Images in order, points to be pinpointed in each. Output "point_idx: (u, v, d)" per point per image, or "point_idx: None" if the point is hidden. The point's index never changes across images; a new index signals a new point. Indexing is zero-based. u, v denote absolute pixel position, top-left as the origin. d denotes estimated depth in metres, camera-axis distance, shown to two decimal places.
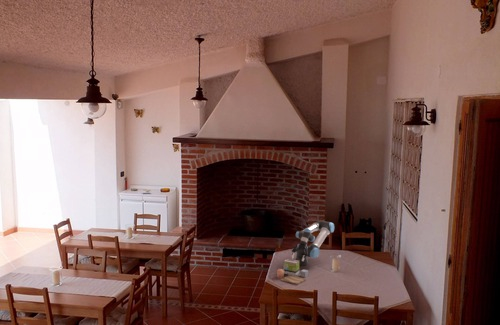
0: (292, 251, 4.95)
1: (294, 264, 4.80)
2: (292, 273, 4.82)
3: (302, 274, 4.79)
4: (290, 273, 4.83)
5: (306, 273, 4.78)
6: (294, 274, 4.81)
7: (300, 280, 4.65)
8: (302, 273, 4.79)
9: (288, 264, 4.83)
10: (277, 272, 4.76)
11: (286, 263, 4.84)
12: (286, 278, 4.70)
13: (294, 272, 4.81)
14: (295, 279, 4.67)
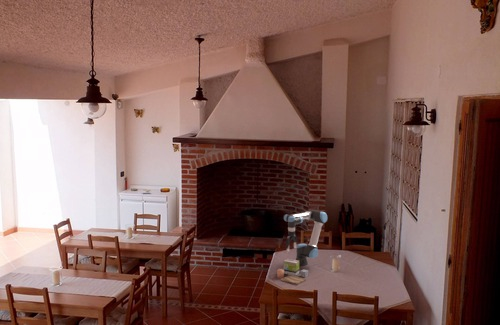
0: None
1: (294, 264, 4.80)
2: (292, 273, 4.82)
3: (302, 274, 4.79)
4: (290, 273, 4.83)
5: (306, 273, 4.78)
6: (294, 274, 4.81)
7: (300, 280, 4.65)
8: (302, 273, 4.79)
9: (288, 264, 4.83)
10: (277, 272, 4.76)
11: (286, 263, 4.84)
12: (286, 278, 4.70)
13: (294, 272, 4.81)
14: (295, 279, 4.67)
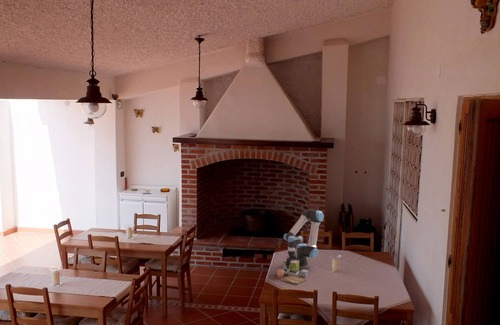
0: None
1: (294, 264, 4.80)
2: (292, 273, 4.82)
3: (302, 274, 4.79)
4: (290, 273, 4.83)
5: (306, 273, 4.78)
6: (294, 274, 4.81)
7: (300, 280, 4.65)
8: (302, 273, 4.79)
9: None
10: (277, 272, 4.76)
11: None
12: (286, 278, 4.70)
13: (294, 272, 4.81)
14: (295, 279, 4.67)
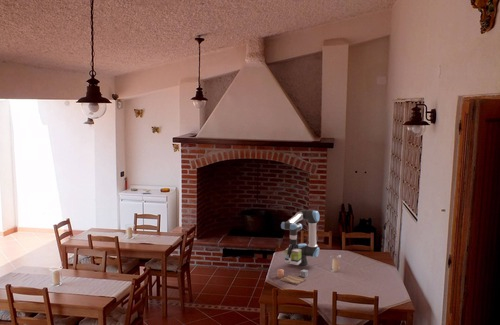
0: None
1: (296, 253, 4.59)
2: (294, 262, 4.62)
3: (302, 274, 4.79)
4: (292, 262, 4.63)
5: (306, 273, 4.78)
6: (296, 263, 4.61)
7: (300, 280, 4.65)
8: (302, 273, 4.79)
9: None
10: (277, 272, 4.76)
11: None
12: (286, 278, 4.70)
13: (296, 261, 4.60)
14: (295, 279, 4.67)
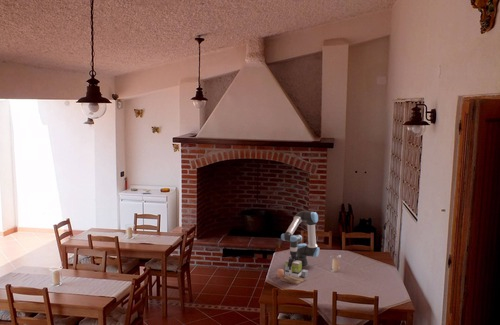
0: None
1: (296, 265, 4.59)
2: (294, 274, 4.62)
3: (302, 274, 4.79)
4: (292, 274, 4.63)
5: (306, 273, 4.78)
6: (296, 275, 4.61)
7: (300, 280, 4.65)
8: (302, 273, 4.79)
9: None
10: (277, 272, 4.76)
11: None
12: (286, 278, 4.70)
13: (296, 273, 4.60)
14: (295, 279, 4.67)
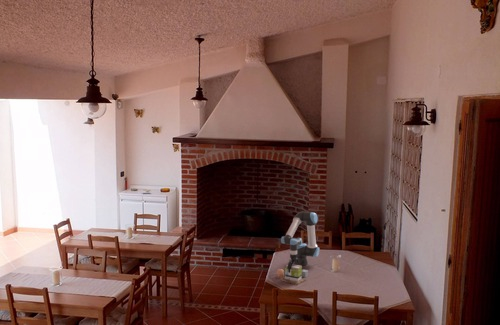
0: None
1: (296, 269, 4.60)
2: (294, 279, 4.62)
3: (302, 274, 4.79)
4: (292, 278, 4.63)
5: (306, 273, 4.78)
6: (296, 280, 4.61)
7: (300, 280, 4.65)
8: (302, 273, 4.79)
9: None
10: (277, 272, 4.76)
11: None
12: None
13: (296, 278, 4.61)
14: None
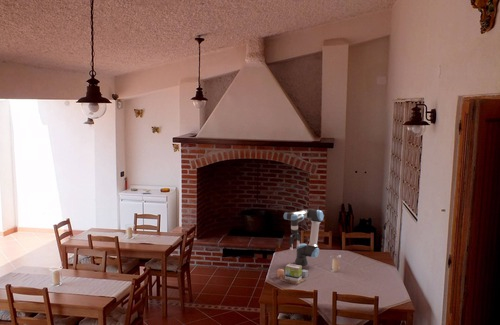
0: None
1: (296, 269, 4.60)
2: (294, 279, 4.62)
3: (302, 274, 4.79)
4: (292, 278, 4.63)
5: (306, 273, 4.78)
6: (296, 280, 4.61)
7: (300, 280, 4.65)
8: (302, 273, 4.79)
9: (290, 270, 4.63)
10: (277, 272, 4.76)
11: (288, 268, 4.64)
12: None
13: (296, 278, 4.61)
14: None
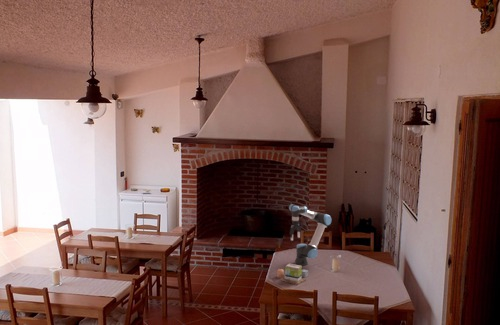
0: None
1: (296, 269, 4.60)
2: (294, 279, 4.62)
3: (302, 274, 4.79)
4: (292, 278, 4.63)
5: (306, 273, 4.78)
6: (296, 280, 4.61)
7: (300, 280, 4.65)
8: (302, 273, 4.79)
9: (290, 270, 4.63)
10: (277, 272, 4.76)
11: (288, 268, 4.64)
12: None
13: (296, 278, 4.61)
14: None
